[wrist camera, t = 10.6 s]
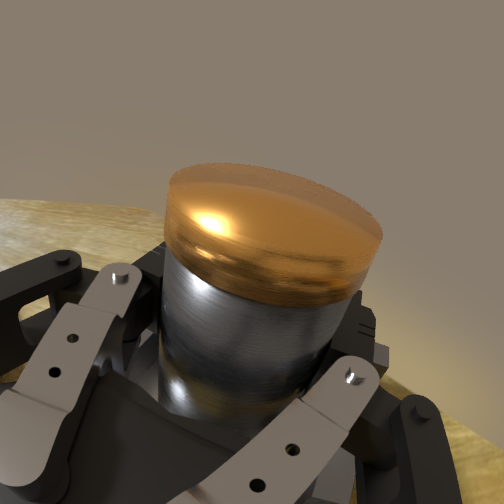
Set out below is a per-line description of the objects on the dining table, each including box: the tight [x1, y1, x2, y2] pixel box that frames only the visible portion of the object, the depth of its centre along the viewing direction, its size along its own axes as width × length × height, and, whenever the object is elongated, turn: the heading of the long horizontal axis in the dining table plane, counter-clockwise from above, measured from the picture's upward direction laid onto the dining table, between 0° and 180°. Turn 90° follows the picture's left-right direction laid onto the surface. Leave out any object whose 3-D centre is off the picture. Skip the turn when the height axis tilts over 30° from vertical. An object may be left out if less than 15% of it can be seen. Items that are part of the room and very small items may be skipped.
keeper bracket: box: [128, 329, 389, 504], centre depth 12 cm, size 12×12×5 cm
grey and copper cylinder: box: [158, 163, 383, 440], centre depth 10 cm, size 5×5×10 cm
